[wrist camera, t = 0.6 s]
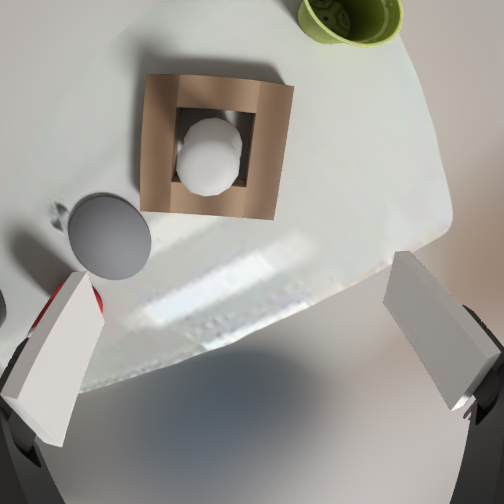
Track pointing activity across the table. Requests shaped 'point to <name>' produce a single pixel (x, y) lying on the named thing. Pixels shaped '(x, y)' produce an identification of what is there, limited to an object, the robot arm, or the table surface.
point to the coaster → (110, 238)
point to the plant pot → (351, 21)
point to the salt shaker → (209, 157)
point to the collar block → (223, 98)
